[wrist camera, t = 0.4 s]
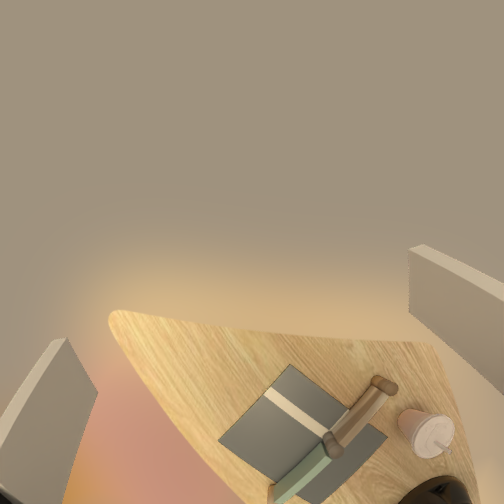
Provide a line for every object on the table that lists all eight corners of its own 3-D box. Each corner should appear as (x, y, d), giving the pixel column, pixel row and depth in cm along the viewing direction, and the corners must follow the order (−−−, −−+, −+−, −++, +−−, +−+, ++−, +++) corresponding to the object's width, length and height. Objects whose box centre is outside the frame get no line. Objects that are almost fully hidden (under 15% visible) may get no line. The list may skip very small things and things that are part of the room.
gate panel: (319, 440, 38) (324, 456, 32) (327, 446, 38) (334, 462, 32) (265, 489, 36) (263, 509, 31) (274, 495, 36) (273, 515, 30)
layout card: (387, 436, 37) (387, 437, 37) (316, 505, 35) (316, 506, 35) (290, 364, 41) (290, 364, 41) (218, 440, 39) (217, 441, 39)
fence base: (384, 379, 40) (401, 387, 33) (329, 444, 38) (337, 461, 32) (375, 372, 40) (391, 379, 34) (319, 437, 39) (325, 454, 32)
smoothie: (386, 439, 37) (422, 475, 24) (392, 402, 39) (433, 428, 25) (422, 435, 37) (465, 465, 23) (428, 398, 38) (476, 419, 25)
